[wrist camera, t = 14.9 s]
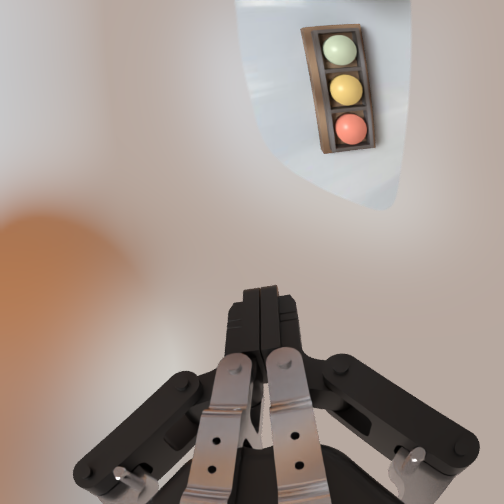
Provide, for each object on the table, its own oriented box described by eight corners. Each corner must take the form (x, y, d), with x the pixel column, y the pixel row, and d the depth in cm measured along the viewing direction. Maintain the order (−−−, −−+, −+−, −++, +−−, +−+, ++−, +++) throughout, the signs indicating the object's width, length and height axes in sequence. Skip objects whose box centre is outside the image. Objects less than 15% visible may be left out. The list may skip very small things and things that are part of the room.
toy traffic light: (300, 29, 29) (304, 26, 26) (354, 25, 28) (364, 22, 25) (321, 149, 37) (326, 158, 34) (370, 142, 37) (380, 151, 34)
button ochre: (326, 75, 30) (329, 76, 29) (356, 73, 30) (360, 73, 28) (330, 104, 32) (334, 106, 31) (359, 101, 32) (364, 103, 30)
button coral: (332, 114, 33) (335, 116, 31) (361, 111, 32) (365, 113, 31) (335, 142, 35) (339, 146, 33) (363, 139, 34) (368, 142, 33)
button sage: (319, 37, 28) (322, 36, 26) (349, 34, 27) (353, 34, 26) (324, 66, 30) (327, 66, 28) (354, 63, 29) (358, 64, 28)
